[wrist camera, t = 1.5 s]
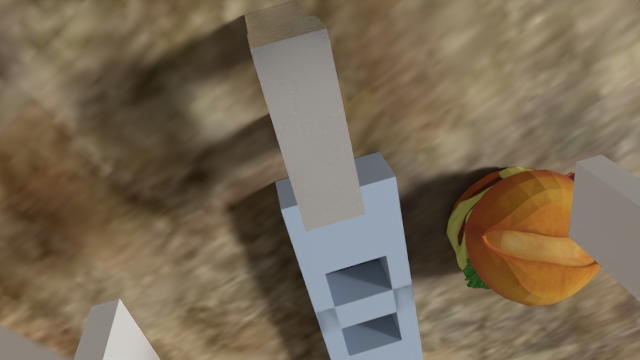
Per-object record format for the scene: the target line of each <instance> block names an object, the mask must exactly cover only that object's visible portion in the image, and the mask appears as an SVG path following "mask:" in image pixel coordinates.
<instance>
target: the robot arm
mask: <svg viewBox="0 0 640 360" xmlns="http://www.w3.org/2000/svg"><path fill="white" fill-rule="evenodd" d="M569 237H570V238H571V239H572V240H573V241H574V242H575V243H576V244H578V245H579V246H580V247H581V248H582V249H583V250H584V251H585V252H586V253H587V254H588V255H590V256H591V257H592V258H593V259H594V260H595V261H596V262H597V263H598V264H599V265H600V266H602V267H603V268H604V269H605V270H606V271H607V272H608V273H609V274H610V275H611V276H612V277H613V278H615V279H616V280H617V281H618V282H619V283H620V284H621V285H622V286H623V287H624V288H625V289H627V290H628V291H629V292H630V293H631V294H632V295H633V296H634V297H635V298H636V299H637V300H639V301H640V178H638V177H637V176H635V175H633V174H632V173H630V172H629V171H627V170H625V169H624V168H622V167H621V166H619V165H617V164H616V163H614V162H613V161H611V160H609V159H608V158H606V157H604V156H603V155H598V156H595V157H592V158H588V159H585V160H582V161H578V162H576V168H575V178H574V188H573V197H572V207H571V217H570V227H569ZM74 360H160V359H159V357H158V356H157V354H156V353H155V351H154V350H153V348H152V347H151V345H150V344H149V342H148V341H147V339H146V338H145V336H144V335H143V333H142V332H141V330H140V329H139V327H138V326H137V324H136V323H135V321H134V320H133V318H132V317H131V315H130V314H129V312H128V311H127V309H126V308H125V306H124V305H123V303H122V302H121V300H120V299H117V300H113V301H110V302H107V303H103V304H100V305H96V306H93V307H91V310H90V313H89V316H88V319H87V322H86V325H85V328H84V331H83V334H82V337H81V340H80V343H79V345H78V348H77V351H76V354H75V357H74Z"/></svg>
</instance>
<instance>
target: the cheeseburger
mask: <svg viewBox="0 0 640 360" xmlns="http://www.w3.org/2000/svg"><path fill="white" fill-rule="evenodd" d="M574 178H575V172H571V173H569V174H567V175H566V176H565V175H562V174H559V173H555V172H552V171H549V170H535V169H532V168H522V167H519V166H513V167H508V168H506V169H503V170H500V171H496V172H493V173H490V174H488V175H486V176H485V177H483V178H482V179H480V180H479V181H477V182H476V183H474V184H473V185H471V186H470V187H469V188H468V189H467V190H466V191H465V192H464V194H463V195H462V196H461V197H460V198H459V200H458V201H457V202H456V203H455V204H454V207H453V210H452V212H451V215H450V218H449V220H448V226H447V236H448V238H449V240H450V242H451V246H452V248H453V250H454V251H455V253H456V255H457V258H456V259H457V262H458V265H459V267H460V268H461V269H462V270H463V272H464V274H465V276H466V279H465V280H466V281H467V280H470V281H469V283H468V284H467V286H468V287H472V288H484V289H492V290H493V291H495V292H497V293H498V294H500V295H501V296H503V297H504V298H506V299H509V300H511V301H514V302H518V303H521V304H524V305H527V306H546V305H550V304H553V303H556V302H559V301H562V300H565V299H567V298H568V297H570V296H571V295H573V294H575V293H576V292H578V291H579V290H580V289H581V288H583V287H584V286H585V285H586V284H587V283H588V282H589V281H590V280H591V279H592V278H593V277H594V276H595V274H596V273H597V272H598V270H599V269H600V267H601V266H600V265H599V264H598V263H597V262H596V261H595V260H594V259H593V258H592V257H591V256H590V255H588V254H587V253H586V252H585V251H584V250H583V249H582V248H581V247H580V246H579V245H578V244H576V243H575V242H574V241H573V240H572V239H571V238H570V237H569V227H570V217H571V207H572V197H573V188H574Z"/></svg>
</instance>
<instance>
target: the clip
mask: <svg viewBox="0 0 640 360" xmlns="http://www.w3.org/2000/svg"><path fill="white" fill-rule="evenodd" d="M244 16H245V21H246V26H247V31H248V34H247V37H248V42H249V47H250V51H251V54H252V58H253V61H254V64H255V67H256V71H257V74H258V77H259V80H260V84H261V87H262V90H263V93H264V97H265V100H266V103H267V107H268V110H269V113H270V116H271V120H272V123H273V126H274V129H275V133H276V136H277V139H278V142H279V146H280V149H281V152H282V156H283V159H284V162H285V165H286V169H287V172H288V175H289V178H290V182H291V185H292V188H293V192H294V195H295V198H296V201H297V205H298V208H299V211H300V214H301V218H302V221H303V224H304V227H305V231H310V230H313V229H316V228H320V227H323V226H327V225H330V224H333V223H337V222H340V221H344V220H347V219H350V218H354V217H357V216H360V215H364V214H365V210H364V205H363V200H362V195H361V190H360V186H359V181H358V176H357V171H356V166H355V161H354V157H353V152H352V147H351V142H350V137H349V132H348V127H347V123H346V118H345V113H344V108H343V103H342V98H341V93H340V89H339V84H338V79H337V74H336V69H335V64H334V60H333V55H332V50H331V45H330V40H329V35H328V30H327V27H326V26H325V25H324V24H323V23H322V22H321V21H320V20H319V19H318V18H317V16H316V15H315V16H311V17H309V16H308V15H307V13H306V12H305V11H304V10H303V9H302V7H301V6H300V5H299V4H298V3H297V1H292V2H289V3H285V4H281V5H278V6H274V7H270V8H267V9H263V10H259V11H256V12H252V13H248V14H245V15H244Z"/></svg>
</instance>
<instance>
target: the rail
mask: <svg viewBox="0 0 640 360" xmlns="http://www.w3.org/2000/svg"><path fill="white" fill-rule="evenodd" d="M354 161H355V166H356V171H357V176H358V181H359V186H360V190H361V195H362V200H363V205H364V210H365V214H364V215H360V216H357V217H354V218H350V219H347V220H344V221H340V222H337V223H333V224H330V225H327V226H323V227H320V228H316V229H313V230H310V231H305V227H304V224H303V221H302V218H301V214H300V211H299V208H298V205H297V201H296V198H295V195H294V192H293V188H292V185H291V182H290V178H286V179H282V180H279V181H276V187H277V192H278V198H279V203H280V208H281V212H282V215H283V218H284V221H285V224H286V227H287V230H288V233H289V236H290V239H291V242H292V245H293V248H294V251H295V254H296V257H297V260H298V263H299V266H300V269H301V272H302V275H303V278H304V281H305V284H306V287H307V290H308V293H309V296H310V299H311V302H312V305H313V308H314V311H315V314H316V317H317V320H318V323H319V326H320V329H321V332H322V335H323V338H324V341H325V344H326V347H327V350H328V353H329V356H330V359H331V360H423V355H422V348H421V342H420V335H419V328H418V322H417V315H416V309H415V302H414V295H413V289H412V282H411V276H410V269H409V262H408V256H407V249H406V242H405V236H404V229H403V223H402V216H401V209H400V203H399V196H398V189H397V183H396V176H395V175H394V173H393V172H392V170H391V169H390V167H389V166H388V164H387V163H386V161H385V160H384V158H383V157H382V155H381V154H380V152H376V153H372V154H369V155H365V156H362V157H358V158H355V159H354ZM376 258H379V259H377V260H374V261H371V262H367V263H364V264H361V265H357V266H354V267H351V268H347V269H344V270H341V271H337V272H334V273H331V274H327V275H325V274H326V273H329V272H333V271H336V270H339V269H343V268H346V267H349V266H353V265H356V264H360V263H363V262H366V261H370V260H373V259H376Z"/></svg>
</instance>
